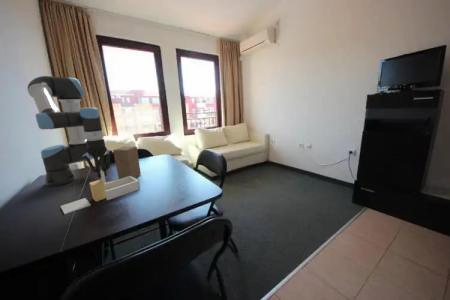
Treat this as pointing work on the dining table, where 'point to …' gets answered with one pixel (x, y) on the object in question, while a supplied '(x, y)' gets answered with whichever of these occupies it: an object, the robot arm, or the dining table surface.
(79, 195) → the dining table surface
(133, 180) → the white u-shaped frame
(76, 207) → the tile
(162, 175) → the dining table surface
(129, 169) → the wooden block
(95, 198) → the block
